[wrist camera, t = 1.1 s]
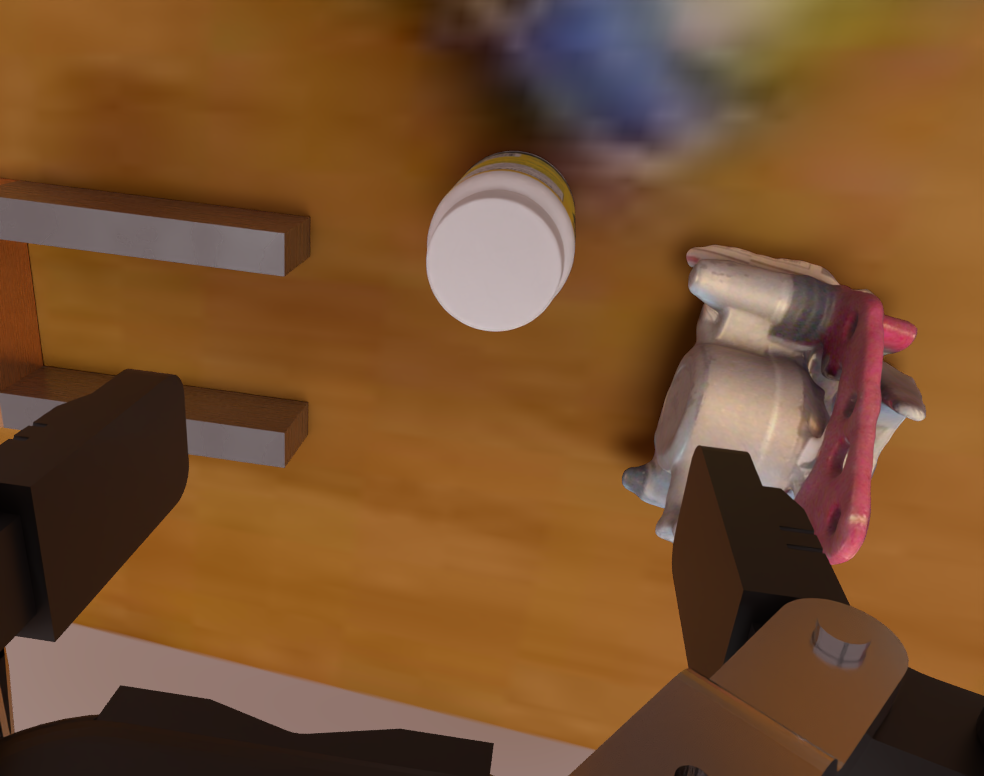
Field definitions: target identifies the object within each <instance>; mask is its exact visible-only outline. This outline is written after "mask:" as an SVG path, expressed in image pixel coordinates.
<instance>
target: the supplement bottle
mask: <svg viewBox="0 0 984 776" xmlns="http://www.w3.org/2000/svg"><path fill="white" fill-rule="evenodd" d="M575 237H576V236H575V205H574V199H573V196H572V193H571V190H570V188H569V185H568V184H567V182H566V180H565V179H564V177H563V176H562V174H561V173H560V172H559V171H558V170H557V169H556V168H555V167H554V166H553V165H552V164H550V163H549V162H548V161H546V160H544V159H543V158H541V157H539V156H536V155H534V154H531V153H527V152H521V151H505V152H500V153H496V154H493V155H490V156H488V157H486V158H484V159H482V160H481V161H479V162H478V163H476V164H475V165H474V166H472V167H471V168H470V169H469V170H468V171H467V172H466V173H465V175H464V176H463V177H462V178H461V179H460V180H459V181H458V182H457V183H456V184H455V186H454V187H453V188H452V189H451V190H450V191H449V192H448V193H447V194H446V195H445V197H444V198H443V199H442V201H441V202H440V204H439V206H438V207H437V209H436V211H435V213H434V215H433V218H432V221H431V224H430V228H429V232H428V238H427V256H426V268H427V276H428V280H429V283H430V286H431V289H432V291H433V293H434V295H435V297H436V298H437V300H438V301H439V303H440V304H441V305H442V307H443V308H444V309H445V310H446V311H447V312H448V313H449V314H450V315H452V316H453V317H454V318H456V319H457V320H459V321H460V322H462V323H464V324H466V325H468V326H470V327H473V328H476V329H480V330H485V331H507V330H511V329H516V328H518V327H521V326H523V325H525V324H527V323H529V322H531V321H532V320H534V319H535V318H536V317H538V316H539V315H540V314H541V313H542V312H543V311H544V310H545V309H546V308H547V307H548V305H549V304H550V303H551V301H552V300H553V298H554V297H555V296H556V295H557V294H558V293H559V291H560V290H561V289H562V287H563V285H564V284H565V282H566V280H567V278H568V276H569V274H570V271H571V268H572V265H573V260H574V254H575Z"/></svg>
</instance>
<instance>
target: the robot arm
mask: <svg viewBox="0 0 984 776" xmlns="http://www.w3.org/2000/svg"><path fill="white" fill-rule="evenodd" d="M188 471H189V458H188V443H187V427H186V412H185V397H184V388H183V384H182V382H181V380H180V378H179V377H178V376H176V375H172V374H164V373H156V372H149V371H141V370H134V369H126V370H124V371H122V372H121V373H120V374H118V375H117V376H115V377H114V378H113V379H111V380H110V381H108V382H107V383H105V384H104V385H103V386H101V387H100V388H98V389H97V390H96V391H94V392H93V393H91V394H88V395H86V396H83V397H80V398H77V399H75V400H72V401H69V402H67V403H64V404H61V405H58V406H56V407H54V408H53V409H52V410H50V411H49V412H47V413H46V414H44V415H43V416H41V417H40V418H39V419H37V420H36V421H34V422H33V425H32V426H29V425H28V426H27V427H25V428H24V429H23V430H21V431H20V432H18V433H17V434H15V435H14V438H13V439H8V440H7V441H5V442H4V443H2V444H1V445H0V776H493V775H491V774H490V768H491V761H492V753H493V745H494V743H488V742H482V741H475V740H469V739H463V738H456V737H450V736H443V735H437V734H430V733H424V732H417V731H411V730H405V729H387V730H369V731H351V732H333V733H315V734H298V733H292V732H289V731H286V730H284V729H281V728H279V727H277V726H274V725H272V724H269V723H267V722H264V721H262V720H259V719H257V718H255V717H252V716H250V715H247V714H245V713H242V712H240V711H237V710H235V709H233V708H230V707H228V706H225V705H223V704H220V703H218V702H215V701H213V700H211V699H204V698H198V697H192V696H186V695H179V694H173V693H166V692H160V691H153V690H146V689H140V688H134V687H128V686H120V687H119V688H118V690H117V691H116V692H115V694H114V695H113V696H112V698H111V699H110V701H109V702H108V703H107V705H106V706H105V707H104V709H103V710H102V712H101V713H100V714H99V715H88V716H81V717H75V718H68V719H62V720H58V721H54V722H49V723H45V724H41V725H38V726H35V727H32V728H29V729H25V730H22V731H19V732H16V733H15V729H14V719H13V707H12V695H11V686H10V673H9V664H8V659H7V653H6V648H5V646H6V645H7V644H8V643H9V642H10V641H11V640H12V639H13V638H14V637H15V636H20V637H26V638H32V639H39V640H45V641H52V642H55V641H56V640H57V639H58V638H59V637H60V636H61V635H62V634H63V632H64V631H65V630H66V629H67V628H68V627H69V626H70V624H71V623H72V622H73V621H74V620H75V619H76V618H77V617H78V615H79V614H80V613H81V612H82V611H83V610H84V609H85V607H86V606H87V605H88V604H89V603H90V602H91V601H92V600H93V598H94V597H95V596H96V595H97V594H98V593H99V592H100V590H101V589H102V588H103V587H104V586H105V585H106V584H107V582H108V581H109V580H110V579H111V578H112V577H113V576H114V575H115V573H116V572H117V571H118V570H119V569H120V568H121V567H122V565H123V564H124V563H125V562H126V561H127V560H128V559H129V557H130V556H131V555H132V554H133V553H134V552H135V551H136V550H137V548H138V547H139V546H140V545H141V544H142V543H143V542H144V540H145V539H146V538H147V537H148V536H149V535H150V534H151V533H152V531H153V530H154V529H155V528H156V527H157V526H158V525H159V523H160V522H161V521H162V520H163V519H164V518H165V517H166V515H167V514H168V513H169V512H170V511H171V510H172V509H173V508H174V506H175V505H176V504H177V503H178V501H179V500H180V498H181V496H182V494H183V492H184V489H185V486H186V483H187V478H188ZM672 573H673V579H674V585H675V591H676V597H677V603H678V609H679V615H680V620H681V626H682V632H683V638H684V644H685V650H686V656H687V661H688V667H689V668H688V669H685V670H683V671H682V672H680V673H679V674H678V675H677V676H675V677H674V678H673V679H672V680H671V681H670V682H669V683H668V684H667V685H666V686H665V687H664V688H663V689H661V690H660V691H659V692H658V693H657V694H656V695H655V696H654V697H653V698H652V699H651V700H650V701H649V702H647V703H646V704H645V705H644V706H643V707H642V708H641V709H640V710H639V711H638V712H637V713H636V714H634V715H633V716H632V717H631V718H630V719H629V720H628V721H627V722H626V723H625V724H624V725H623V726H622V727H620V728H619V729H618V730H617V731H616V732H615V733H614V734H613V735H612V736H611V737H610V738H609V739H608V740H606V741H605V742H604V743H603V744H602V745H601V746H600V747H599V748H598V749H597V750H596V751H595V752H594V753H592V754H591V756H589V757H588V758H587V759H586V760H585V761H584V762H583V763H582V764H581V765H580V766H578V767H577V768H576V770H574V771H573V772H572V773H571V774H570V775H569V776H984V696H983V695H980V694H977V693H974V692H971V691H968V690H966V689H963V688H960V687H957V686H954V685H951V684H949V683H946V682H943V681H940V680H937V679H934V678H932V677H929V676H927V675H924V674H922V673H920V672H918V671H916V670H913V669H911V668H909V667H908V661H909V660H908V656H907V652H906V650H905V648H904V646H903V644H902V643H901V642H900V640H899V639H898V638H897V637H896V635H895V634H894V633H893V632H892V631H891V630H890V629H888V628H887V627H886V626H885V625H884V624H882V623H881V622H879V621H878V620H877V619H875V618H874V617H872V616H870V615H868V614H866V613H865V612H863V611H861V610H858V609H856V608H854V607H852V606H850V604H849V602H848V600H847V598H846V596H845V594H844V592H843V590H842V588H841V585H840V583H839V581H838V579H837V577H836V575H835V573H834V571H833V569H832V567H831V564H830V562H829V560H828V558H827V556H826V554H825V553H823V548H822V546H821V543H820V541H819V539H818V537H817V535H814V529H813V527H812V525H811V522H810V520H809V518H808V516H807V514H806V512H805V510H804V508H802V507H801V506H800V505H799V504H798V503H797V502H796V501H795V500H793V499H792V498H791V497H790V496H789V495H788V494H787V493H786V492H784V491H783V490H782V489H781V488H775V487H767V486H763V485H762V483H761V481H760V478H759V476H758V473H757V471H756V468H755V466H754V463H753V461H752V459H751V456H750V454H749V453H748V452H746V451H738V450H731V449H723V448H716V447H708V446H701V445H698V446H697V447H696V449H695V450H694V453H693V456H692V460H691V464H690V468H689V473H688V477H687V482H686V486H685V490H684V495H683V499H682V504H681V508H680V513H679V517H678V522H677V526H676V531H675V536H674V542H673V552H672Z"/></svg>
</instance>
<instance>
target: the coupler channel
mask: <svg viewBox="0 0 984 776" xmlns="http://www.w3.org/2000/svg"><path fill="white" fill-rule="evenodd" d="M27 243H33V244H40V245H48V246H56V247H63V248H71V249H79V250H86V251H94V252H102V253H109V254H117V255H125V256H132V257H140V258H147V259H155V260H163V261H170V262H178V263H186V264H193V265H201V266H209V267H216V268H224V269H232V270H239V271H247V272H255V273H262V274H270V275H278V276H286V275H287V274H288V273H289V272H291V271H292V270H293V269H295V268H296V267H297V266H298V265H300V264H301V263H302V262H304V261H305V260H306V259H307V258H309V257H310V217H304V216H296V215H289V214H281V213H273V212H265V211H257V210H249V209H241V208H233V207H225V206H217V205H209V204H201V203H194V202H186V201H178V200H170V199H162V198H154V197H146V196H138V195H130V194H122V193H114V192H106V191H99V190H91V189H83V188H75V187H67V186H59V185H51V184H43V183H35V182H27V181H19V180H11V179H4V178H0V427H4V428H11V429H18V430H23V429H24V428H25V427H27V426H28V425H29V426H32V425H33V422H34V421H36V420H37V419H39V418H40V417H41V416H43V415H44V414H46V413H47V412H49V411H50V410H52V409H53V408H54V407H56V406H58V405H61V404H64V403H67V402H69V401H72V400H75V399H77V398H80V397H83V396H86V395H88V394H91V393H93V392H94V391H96V390H97V389H98V388H100V387H101V386H103V385H104V384H105V383H107V382H108V381H110V380H111V379H113V378H114V377H115V376H113V375H106V374H99V373H91V372H84V371H77V370H70V369H63V368H55V367H48V366H43V359H42V352H41V344H40V337H39V329H38V321H37V314H36V306H35V299H34V291H33V283H32V276H31V268H30V261H29V253H28V245H27ZM183 388H184V397H185V412H186V427H187V443H188V454H192V455H199V456H206V457H213V458H220V459H227V460H234V461H241V462H248V463H255V464H262V465H269V466H276V467H283V468H285V467H286V465H287V464H288V462H289V461H290V459H291V458H292V457H293V455H294V454H295V452H296V451H297V450H298V448H299V447H300V445H301V444H302V442H303V441H304V440H305V438H306V437H307V435H308V403H307V402H300V401H293V400H286V399H279V398H271V397H264V396H257V395H250V394H243V393H235V392H228V391H221V390H214V389H207V388H199V387H192V386H185V385H183Z"/></svg>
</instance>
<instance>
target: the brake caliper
mask: <svg viewBox="0 0 984 776" xmlns="http://www.w3.org/2000/svg"><path fill="white" fill-rule="evenodd" d="M686 259H687V262H688V264H689V265H690V266H691V267H693V269H692V270H691V272H690V274H689V282H688V287H689V290H690V292H691V293H692V294H694V295H695V296H696V297H698V298H699V299H700V300H702V301H703V302H704V304H703V307H702V310H701V313H700V316H699V320H698V323H697V328H696V334H697V341H696V344H695V345H694V347H693V348H692V349H691V350H690V351H689V352H688V353H687V354H686V355H685V356H684V357H683V358H682V360H681V362H680V364H679V366H678V368H677V370H676V373H675V375H674V378H673V381H672V383H671V386H670V388H669V390H668V392H667V395H666V398H665V401H664V405H663V408H662V412H661V416H660V419H659V422H658V427H657V430H656V432H655V437H654V444H655V454H654V457H653V459H652V460H651V461H650V462H649V463H647V464H645V465H642V466H639V467H631V468H628V469H627V470H625V471H624V473H623V476H622V483H623V485H624V487H625V488H626V489H628V490H630V491H631V492H633V493H635V494H636V495H637V496H638V497H639V498H640V499H641V500H643V501H645V502H646V503H649V504H652V505H655V506H658V507H662V508H665V509H664V512H663V515H662V517H661V518H660V520H659V521H658V523H657V525H656V529H655V531H656V534H657V535H658V536H659V537H660V538H662V539H665V540H668V541H670V542H672V543H673V542H674V536H675V531H676V526H677V522H678V517H679V513H680V508H681V504H682V499H683V495H684V490H685V486H686V482H687V477H688V473H689V468H690V464H691V460H692V456H693V453H694V450H695V449H696V447H697V446H698V445H701V446H708V447H716V448H723V449H731V450H738V451H746V452H748V453H749V454H750V456H751V459H752V461H753V463H754V466H755V468H756V471H757V473H758V476H759V478H760V481H761V483H762V485H763V486H767V487H775V488H781V489H782V490H783V491H784V492H786V493H787V494H788V495H789V496H790V497H791V498H792V499H793V500H795V501H796V502H797V503H798V504H799V505H800V506H801V507H802V508H804V510H805V512H806V514H807V516H808V518H809V520H810V522H811V525H812V527H813V529H814V535H817V537H818V539H819V541H820V543H821V546H822V548H823V553H825V554H826V556H827V558H828V560H829V562H830V564H831V565H832V564H840V563H843V562H846V561H848V560H850V559H851V558H853V557H854V555H855V554H856V553H857V551H858V550H859V549H860V547H861V545H862V543H863V541H864V540H865V537H866V534H867V530H868V526H869V520H870V512H871V496H870V495H871V493H870V488H871V478H872V476H873V473H874V471H875V468H876V465H877V459H878V457H879V454H880V452H881V451H882V449H883V448H884V446H885V445H886V444H887V443H888V441H889V440H890V438H891V436H892V435H893V433H894V432H895V430H896V429H897V427H898V426H899V425H900V424H901V423H902V422H903V420H904V419H905V418H906V417H907V418H909V419H912V420H916V421H921V420H923V419H924V418H925V416H926V409H925V405H924V404H923V401H922V395H921V393H920V391H919V389H918V388H917V386H916V383H915V381H914V379H913V378H912V377H910V376H908V375H905V374H903V373H902V372H900V371H898V370H897V369H895V368H894V367H892V366H891V365H889V364H887V363H886V362H884V361H883V356H884V355H887V354H891V353H896V352H899V351H901V350H904V349H905V348H907V347H908V346H909V345H910V344H911V343H912V342H913V341H914V339H915V338H916V335H917V328H916V327H915V326H914V325H913V324H911V323H910V322H908V321H905V320H901V319H898V318H893V317H890V316H887V315H884V309H883V305H882V303H881V301H880V299H879V298H878V297H876V296H875V295H874V294H873V293H872V292H871V291H869V290H867V289H860V290H853V289H851V288H850V287H847V286H845V285H840V284H839V283H838V282H837V281H836V280H835V278H834V276H833V275H832V274H831V273H830V272H829V271H828V270H826V269H824V268H823V267H821V266H818V265H815V264H811V263H808V262H805V261H801V260H791V259H784V258H779V259H774V258H771V257H768V256H764V255H757V254H754V253H752V252H750V251H748V250H744V249H740V248H736V247H726V246H720V245H710V246H707V247H694V248H692V249H690V250H689V251H688V252H687V256H686Z"/></svg>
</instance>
